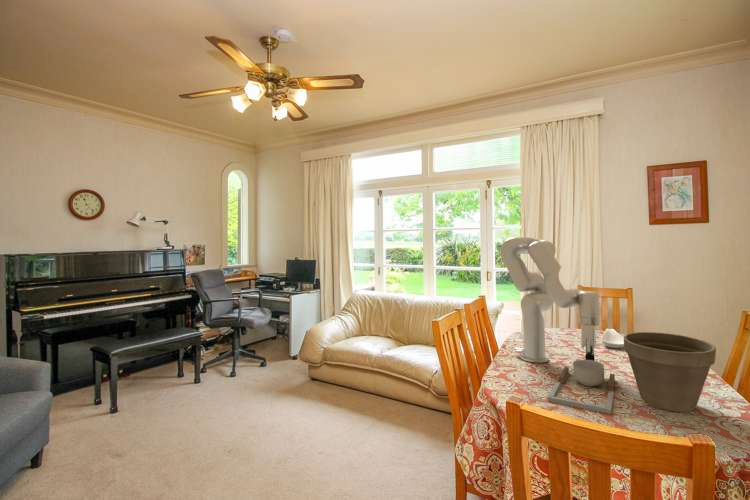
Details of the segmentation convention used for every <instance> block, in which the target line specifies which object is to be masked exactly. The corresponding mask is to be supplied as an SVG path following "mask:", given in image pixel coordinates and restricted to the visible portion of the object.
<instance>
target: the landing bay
mask: <svg viewBox="0 0 750 500" xmlns="http://www.w3.org/2000/svg"><path fill="white" fill-rule="evenodd" d="M561 385H562V384H560V382H559V381H555V383H554V385H553V387H552V388H551V390H550V392H549V393H548V396H547V402H550V403H555V404H560V405H564V406H569V407H575V408H578V409H583V410H588V411H594V412H598V413H602V414H607V415H612V411H613V404H614V398H615V392H614V391H613V392H612V391H609V392H607V393H608V394H607V399H606V404H605V406H603V405H599V404H593V403H589V402H588V403H587V402H583V401H578V400H573V399H568V398H562V397H558V396H557V394H558V392H559V390H560V387H562V386H561Z"/></svg>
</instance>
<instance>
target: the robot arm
mask: <svg viewBox="0 0 750 500" xmlns="http://www.w3.org/2000/svg"><path fill="white" fill-rule="evenodd" d="M556 250H557V249H556V246H555V244H554V243H552V242H551V241H550V240H546V239H545V240H544V239H539V238H534V237H530V236H512V237H508V238H507V239H505V240H504V241H503V242H502V244H501V246H500V257H501V259H502V261H503V263H504V265H505V267H506V269H507V271H508V273H509V276H510V278H511V281H512V283H513V285H514V287H515V288H516V290H517V291H519V292H521V293H527V294H525V295H524V296H523V297H522V298H521V299H520V310H521V313H522V314H521V315H522V331H523V332H522V333H523V337H522V338H523V340H522V341H523V347H521V348H519V347H514V352H515V353H517V354H520V359H521V360H522V361H525V362H529V363H537V364H538V363H539V364H541V363H543V364H544V363H547V362H549V361H550V357H549V356H548V355H546V332H545V331H546V329H545V318H544V315H543V312H547V311H549V310H551V309H552V307H553V306H554V304H555V305H556V306H558V307H559V308H561V309H567V308H568V309H569V308H572V307H578V323H579V324H580V325H581V328H580V329H581V333H580V334H581V335H580V336H581V337H580V338H581V342H580V343H581V344H580V345H581V346H580V347H581V348H582V349H584V348H585V359H584V360H593V361H596V359H595V348H596V346H597V326H600V325H601V324H600V295H599V293H598V292H596V291H595V290H594V291H593V290H580V289H578V288H569V289H565V287H564V286H563V285H562V283H561V281H560V279H559V278H560V277H559V273H560V271H561V269H562V266H561V265H560V263H559V261H558V260H557V259H556V257H555V254H556V252H557V251H556ZM521 254H522V255H523V254H526V255H529V257H530V258H531V259H532V261H533V263H534V264H535V265H536V267H537V268H538V269H539V271H540V273H541V274H542V275H543V276H542V275H541V274H540V273H538V272H537V271H529V269H528V268H527V265H526V263H525V262H524V260H523V259H522V258H521V257H520V256H519V255H521ZM528 292H530V293H528Z"/></svg>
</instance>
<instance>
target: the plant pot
mask: <svg viewBox="0 0 750 500" xmlns="http://www.w3.org/2000/svg"><path fill="white" fill-rule="evenodd" d="M623 338H624V347H623V350H624V352H625V353H626V354H627V358H628V360H629V363H630V366H631V369H632V373H633V376H634V379H635V383H636V386H637V389H638V393H639V395H640V397H641V400H642V401H643V402H644V403H645V404H647V405H648V406H652V407H654V408H656V409H659V410H664V411H668V412H672V413H673V412H674V413H690V412H693V411H694V410H695V409H696V407H697V406H698V403H699V401H700V398H701V394H702V392H703V388H704V387H705V384H706V381H707V378H708V375H709V372H710V369H711V366H713V365H714V364H715V363H716V354H717V347H716V346H715V345H713V344H712V343H710V342H708V341H705V340H702V339H699V338H695V337H690V336H687V335H680V334H674V333H667V332H666V333H665V332H654V331H653V332H652V331H649V332H648V331H647V332H646V331H641V332H640V331H639V332H630V333H627V334H625V335H624V336H623Z"/></svg>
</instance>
